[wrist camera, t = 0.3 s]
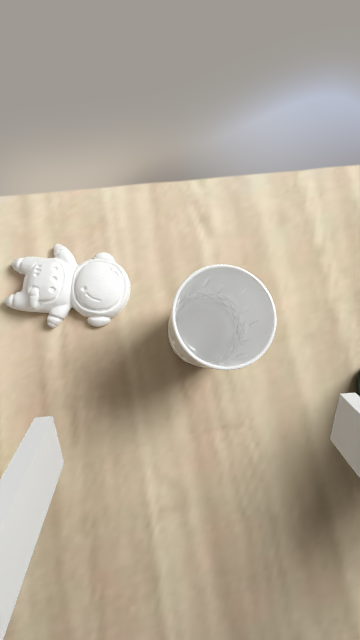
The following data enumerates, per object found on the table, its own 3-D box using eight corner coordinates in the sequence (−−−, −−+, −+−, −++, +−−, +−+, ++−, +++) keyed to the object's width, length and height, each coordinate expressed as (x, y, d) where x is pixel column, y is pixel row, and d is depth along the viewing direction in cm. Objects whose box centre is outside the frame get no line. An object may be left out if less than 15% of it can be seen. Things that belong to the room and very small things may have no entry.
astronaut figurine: (23, 240, 30) (10, 226, 27) (136, 261, 32) (135, 249, 29) (1, 320, 29) (-15, 314, 26) (122, 339, 30) (120, 335, 27)
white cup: (154, 360, 30) (159, 354, 20) (172, 289, 31) (185, 251, 21) (226, 378, 30) (266, 381, 20) (240, 308, 32) (284, 279, 22)
